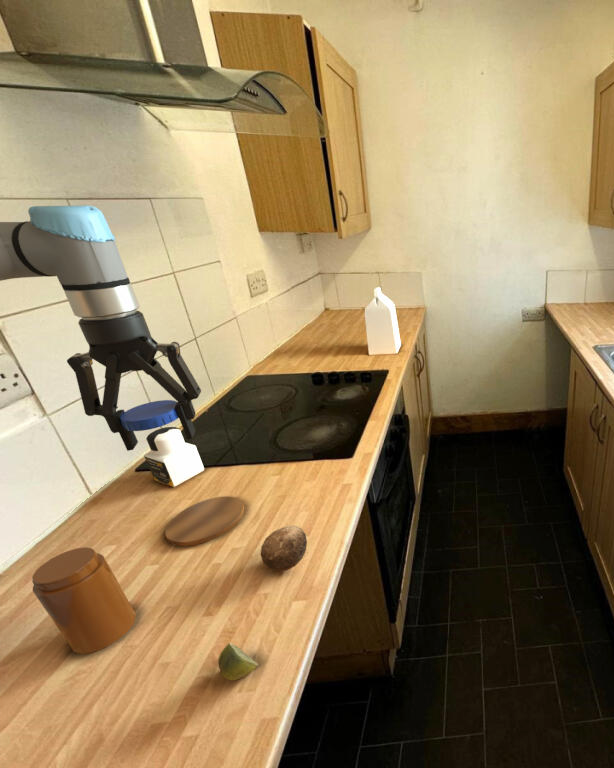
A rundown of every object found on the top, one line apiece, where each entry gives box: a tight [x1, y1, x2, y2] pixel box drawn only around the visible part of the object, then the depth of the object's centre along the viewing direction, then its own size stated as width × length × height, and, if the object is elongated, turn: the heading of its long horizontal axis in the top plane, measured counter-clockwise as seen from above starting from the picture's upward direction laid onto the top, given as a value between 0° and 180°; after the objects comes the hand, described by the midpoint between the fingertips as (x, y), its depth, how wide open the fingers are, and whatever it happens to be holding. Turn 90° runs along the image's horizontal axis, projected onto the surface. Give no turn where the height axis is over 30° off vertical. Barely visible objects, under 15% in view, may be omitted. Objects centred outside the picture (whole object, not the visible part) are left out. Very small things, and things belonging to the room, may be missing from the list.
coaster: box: [164, 496, 245, 547], centre depth 84 cm, size 13×13×1 cm
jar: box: [31, 546, 137, 655], centre depth 60 cm, size 7×7×14 cm
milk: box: [364, 286, 402, 356], centre depth 173 cm, size 12×12×26 cm
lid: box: [120, 399, 179, 432], centre depth 71 cm, size 8×8×2 cm
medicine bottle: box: [143, 426, 205, 488], centre depth 95 cm, size 7×7×12 cm
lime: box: [217, 642, 259, 681], centre depth 56 cm, size 4×5×5 cm
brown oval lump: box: [260, 524, 308, 572], centre depth 74 cm, size 8×8×6 cm
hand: (162, 440), depth 73 cm, fingers closed on lid, 8 cm apart
